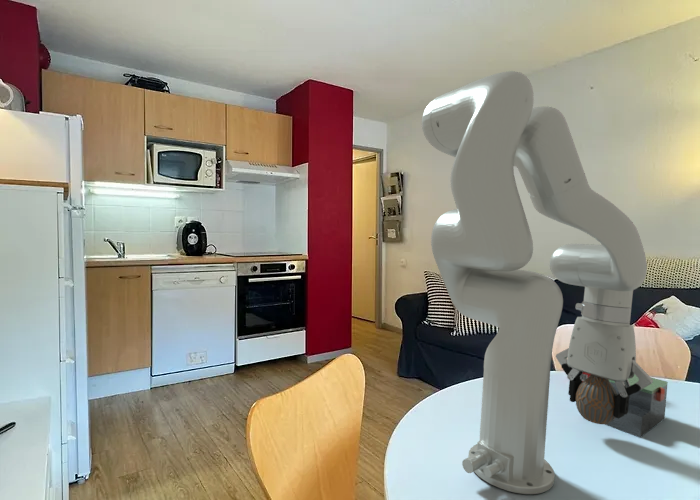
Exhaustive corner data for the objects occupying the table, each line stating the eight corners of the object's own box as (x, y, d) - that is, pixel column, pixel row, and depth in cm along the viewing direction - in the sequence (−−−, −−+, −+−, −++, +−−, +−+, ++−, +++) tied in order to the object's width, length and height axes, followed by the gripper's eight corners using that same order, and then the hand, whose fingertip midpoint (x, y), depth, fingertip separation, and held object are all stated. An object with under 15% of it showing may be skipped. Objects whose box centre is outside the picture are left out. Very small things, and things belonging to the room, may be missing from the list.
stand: (645, 439, 74) (649, 397, 74) (583, 416, 83) (586, 378, 82) (669, 420, 82) (672, 383, 82) (611, 401, 91) (613, 367, 91)
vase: (576, 408, 79) (580, 365, 79) (617, 420, 75) (622, 374, 75) (571, 419, 74) (576, 372, 73) (616, 432, 70) (621, 383, 69)
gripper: (549, 306, 79) (540, 394, 79) (655, 325, 65) (644, 433, 65) (567, 305, 83) (558, 388, 84) (669, 323, 69) (659, 423, 70)
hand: (596, 407), depth 74 cm, fingers closed on vase, 6 cm apart
